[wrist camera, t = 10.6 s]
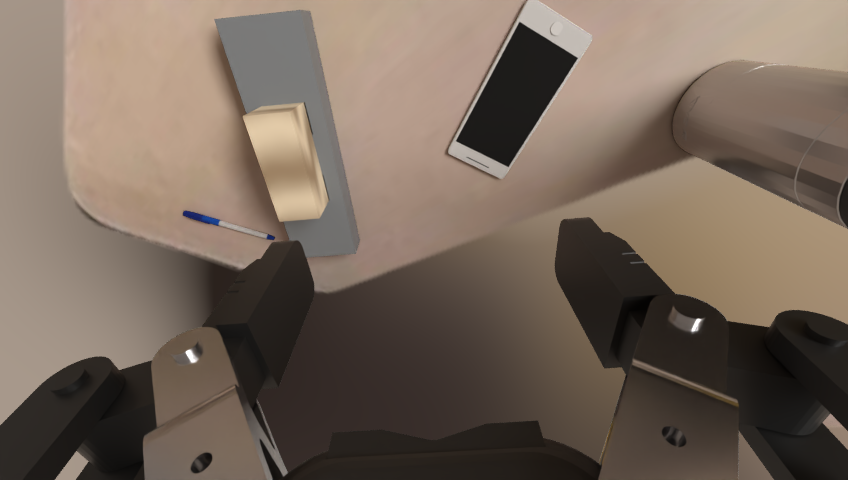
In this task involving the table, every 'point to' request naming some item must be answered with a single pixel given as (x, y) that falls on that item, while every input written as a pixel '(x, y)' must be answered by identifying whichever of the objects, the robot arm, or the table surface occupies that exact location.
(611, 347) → the robot arm
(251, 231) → the ballpoint pen
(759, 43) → the table surface
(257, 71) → the slotted rail
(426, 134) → the table surface
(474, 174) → the table surface
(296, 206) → the tan rectangular block
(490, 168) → the smartphone
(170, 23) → the table surface
